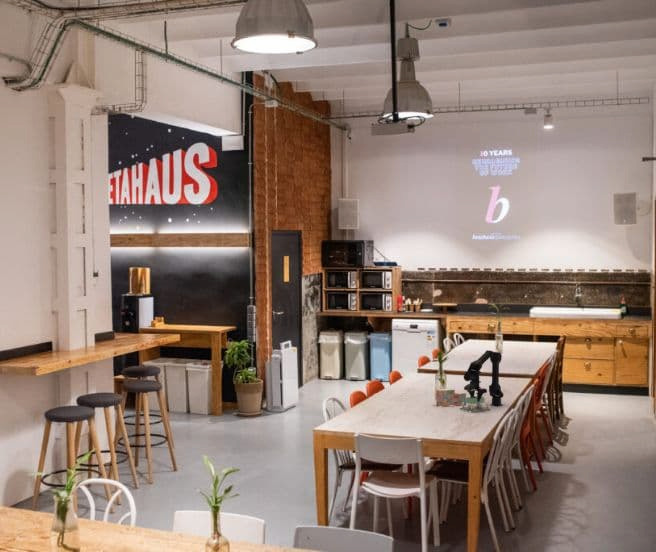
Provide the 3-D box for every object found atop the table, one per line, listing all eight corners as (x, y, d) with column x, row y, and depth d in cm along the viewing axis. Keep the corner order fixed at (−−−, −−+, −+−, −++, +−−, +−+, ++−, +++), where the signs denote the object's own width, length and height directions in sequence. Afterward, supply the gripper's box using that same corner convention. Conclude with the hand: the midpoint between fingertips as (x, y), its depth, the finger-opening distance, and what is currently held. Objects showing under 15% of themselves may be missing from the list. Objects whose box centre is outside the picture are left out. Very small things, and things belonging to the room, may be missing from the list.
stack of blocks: (463, 404, 603) (463, 387, 603) (466, 405, 597) (466, 389, 596) (436, 405, 598) (436, 388, 598) (439, 406, 592) (439, 390, 592)
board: (478, 401, 586) (478, 395, 586) (484, 402, 581) (484, 396, 581) (466, 402, 580) (466, 396, 580) (471, 404, 575) (471, 398, 575)
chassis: (477, 406, 591) (477, 399, 591) (490, 410, 579) (490, 402, 579) (459, 409, 582) (459, 401, 582) (472, 412, 570) (472, 404, 570)
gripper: (458, 379, 584) (458, 400, 584) (475, 382, 568) (475, 404, 568) (470, 377, 589) (470, 398, 590) (487, 381, 574) (487, 402, 574)
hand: (475, 401), depth 580 cm, fingers closed on board, 6 cm apart
